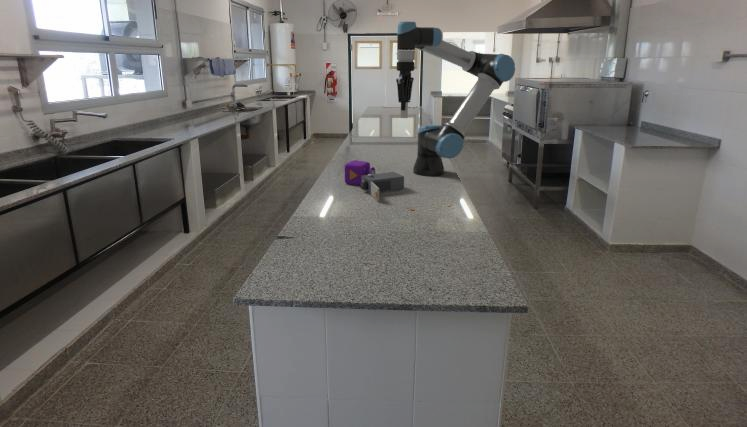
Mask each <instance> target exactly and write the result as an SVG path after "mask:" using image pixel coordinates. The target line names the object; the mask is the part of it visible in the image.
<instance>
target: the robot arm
mask: <svg viewBox="0 0 747 427" xmlns="http://www.w3.org/2000/svg"><path fill="white" fill-rule="evenodd" d="M396 36H397V40H396V42H397V43H396V44H397V45H396V48H397V49H396V71H397V72H399V74H398V76H399V77H398V78H396V81H395V82H396V84H397V85H396V86H397V98H398V103H400V118H401V119H408V118H409V117H408V116H409V115H408V114H409V103H411V98H412V90H413V84H414V80H415V79H414V77H412V72H414V71H415V60H416V49H417V50H420V51H422V52H425V53H427V54H430V55H432V56H435V57H437V58H440V59H442V60H443V61H445V62H449V63H451V64H453V65H456V66H458V67H461V69H462V71H464V72H466V73H468V74H470V75H472V76H475V77H477V78H478V79H477V81H476V82H475V83H474V85H473V87H472V88H471V89H470V91H469V93H468V94H467V95H466V97H465V98H464V99H463V101H462V102H461V104H460V105H459V107H458V108H457V110H456V111H455V112H454V114H453V115H452V116H451V119H450V120H449V121H448V122H444V123H443V124H442V125H441V124H440V125H439V124H437V125H436V124H435V125H422V126H419V127H418V130H417V157H416V159H415V162H414V165H413V168H412V169H413V170H412V171H413V173H414V174H415V175H419V176H425V177H426V176H429V177H430V176H431V177H432V176H433V177H434V176H441V175H443V174H445V167H444V163H443V159H453V158H455V157H457V156H459V155H460V154H461V152H462V151H463V148H464V145H463V144H464V140H465V138H466V136H465V135H466V134H465V132H466V131H468V130H467V129H468V128H469V127H470V125H471V124H472V123H473V121H474V119H476V117H477V115H478V114H479V112H480V111H481V109H482V108H483V106H484V105H485V103H486V102H487V101H488V99H489V98H490V96H491V94H492V93H493V92H494V91H495V90H499V89H500V87H501V86H502V85H503V84H504V83H506V82H508V81H509V82H510V80H511V79H512V78H513V77H514V76H515V71H516V64H515V61H514V58H512V57H511V55H508V54H504V53H499V54H498V53H496V54H495V53H480V52H476V51H473V50H470V51H468V50H465V49H463V48H461V47H459V46H456V45H454V44H453V43H449V42H447V41H445V40H443V32H442V30H441V28H439V27H434V26H433V27H428V26H427V27H425V26H424V27H423V26H422V27H419V26H417V24H416V21H400V22H399V23H398V24H397V32H396ZM442 158H443V159H442Z"/></svg>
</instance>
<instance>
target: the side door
mask: <svg viewBox="0 0 747 427" xmlns="http://www.w3.org/2000/svg"><path fill="white" fill-rule="evenodd" d="M370 195H371V196H372V197H373V198H374V199H375V200H376V201H377V202H378V201H380V193H379V188H378V187H377V186H376V185H375V184H374V183H373V181H371V194H370Z"/></svg>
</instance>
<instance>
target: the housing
mask: <svg viewBox="0 0 747 427" xmlns="http://www.w3.org/2000/svg"><path fill="white" fill-rule="evenodd" d="M371 181H373V183H374V184H375V185H376V186H377V187H378V188H379V194H382V193H383V194H384V193H390V192H399V191H404V190H405V176H404V175H402V174H400V173H397V172H396V171H391V172H380V173H375V174H368V175H362V176H361V185H360V188H361V189H360V190H362V191H365V192H366V193H368V194H369V195H371Z"/></svg>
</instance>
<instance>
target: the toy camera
mask: <svg viewBox="0 0 747 427" xmlns="http://www.w3.org/2000/svg"><path fill="white" fill-rule="evenodd" d="M368 174H376V169H375V167H371V163H370V162H369V161H364V160H357V159H355V158H354V159H352V160H351V161H349V162H347V163H345V165H344V182H345V184H349V185H354V186H361V176H362V175H368Z"/></svg>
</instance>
